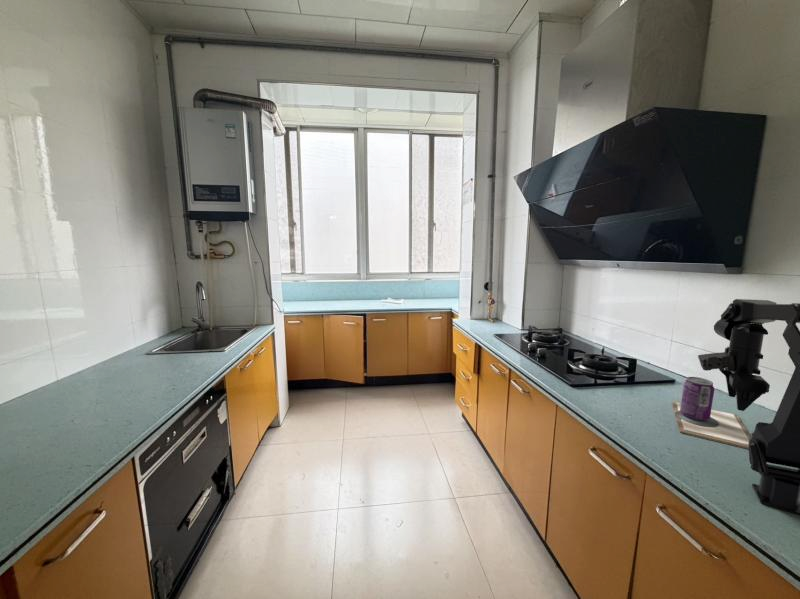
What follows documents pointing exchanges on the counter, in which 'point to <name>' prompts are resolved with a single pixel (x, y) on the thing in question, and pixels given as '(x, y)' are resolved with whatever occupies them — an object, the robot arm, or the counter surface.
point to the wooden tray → (714, 427)
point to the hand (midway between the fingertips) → (735, 403)
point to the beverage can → (697, 398)
